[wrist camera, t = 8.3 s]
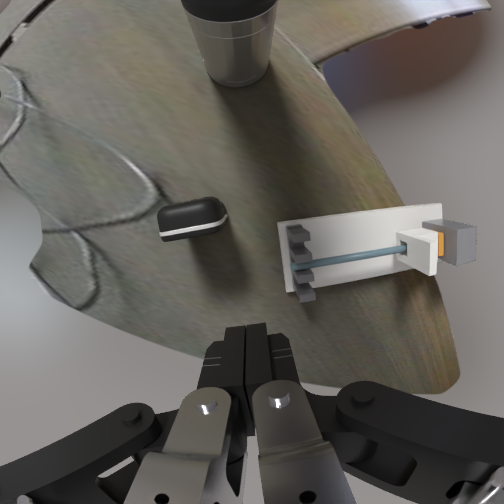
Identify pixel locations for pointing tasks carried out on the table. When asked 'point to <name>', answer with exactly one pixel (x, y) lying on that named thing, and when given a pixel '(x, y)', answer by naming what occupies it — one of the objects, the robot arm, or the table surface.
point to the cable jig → (363, 245)
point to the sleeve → (419, 249)
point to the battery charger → (191, 218)
